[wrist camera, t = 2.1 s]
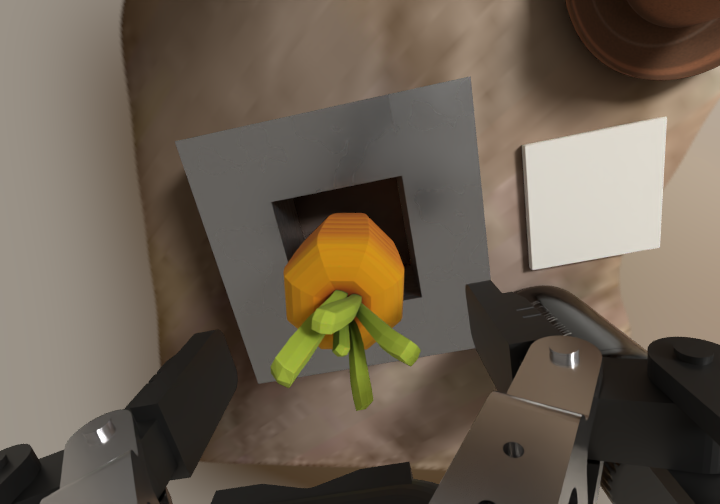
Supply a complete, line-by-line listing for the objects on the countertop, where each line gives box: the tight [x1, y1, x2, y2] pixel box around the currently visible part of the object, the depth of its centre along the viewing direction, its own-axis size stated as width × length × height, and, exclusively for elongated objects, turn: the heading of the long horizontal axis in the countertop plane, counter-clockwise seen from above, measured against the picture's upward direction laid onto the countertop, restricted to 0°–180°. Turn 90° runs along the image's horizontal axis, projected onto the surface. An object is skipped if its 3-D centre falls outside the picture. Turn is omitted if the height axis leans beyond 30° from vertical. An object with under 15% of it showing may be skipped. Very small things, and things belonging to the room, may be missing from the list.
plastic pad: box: [522, 117, 667, 270], centre depth 23 cm, size 8×8×1 cm
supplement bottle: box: [515, 286, 678, 504], centre depth 20 cm, size 7×7×12 cm
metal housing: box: [175, 77, 491, 384], centre depth 21 cm, size 14×14×5 cm
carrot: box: [271, 213, 421, 411], centre depth 17 cm, size 5×5×15 cm
